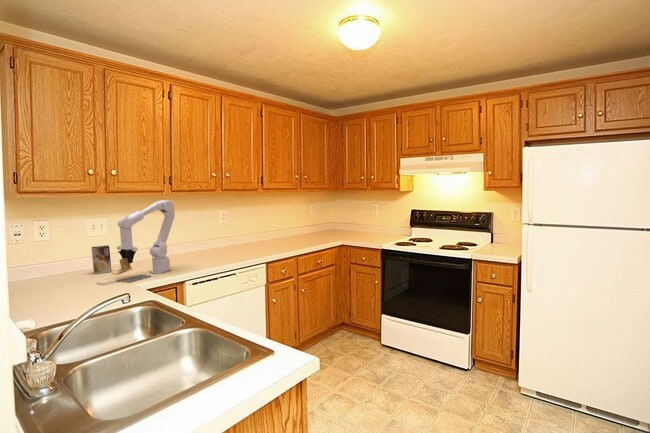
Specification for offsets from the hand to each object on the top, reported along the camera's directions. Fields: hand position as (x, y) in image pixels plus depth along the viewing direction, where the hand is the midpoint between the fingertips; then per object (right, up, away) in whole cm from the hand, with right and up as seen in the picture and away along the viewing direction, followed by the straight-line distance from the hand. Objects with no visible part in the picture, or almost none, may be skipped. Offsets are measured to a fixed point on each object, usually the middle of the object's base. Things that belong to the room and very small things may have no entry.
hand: (128, 262), depth 210 cm
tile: (-5, -9, -6) cm, 12 cm away
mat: (+5, -9, -1) cm, 10 cm away
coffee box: (-24, -8, +16) cm, 30 cm away
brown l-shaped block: (-2, -5, -3) cm, 6 cm away
